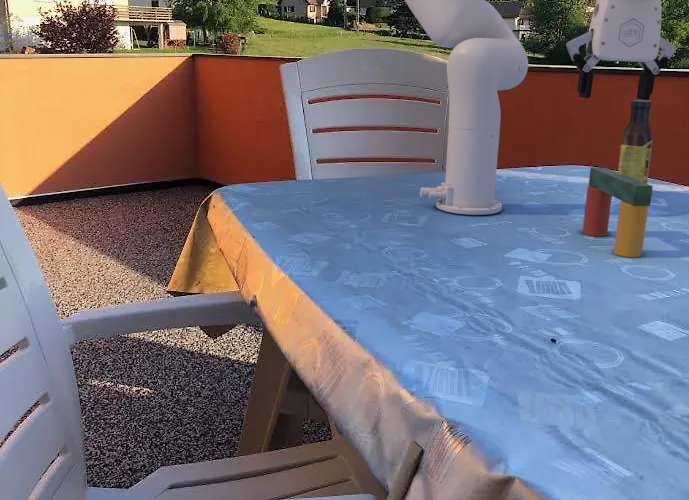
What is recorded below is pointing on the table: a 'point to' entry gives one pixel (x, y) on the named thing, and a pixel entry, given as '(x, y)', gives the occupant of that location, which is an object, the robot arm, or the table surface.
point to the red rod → (596, 212)
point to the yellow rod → (630, 230)
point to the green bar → (621, 186)
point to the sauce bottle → (637, 143)
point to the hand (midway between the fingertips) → (613, 98)
